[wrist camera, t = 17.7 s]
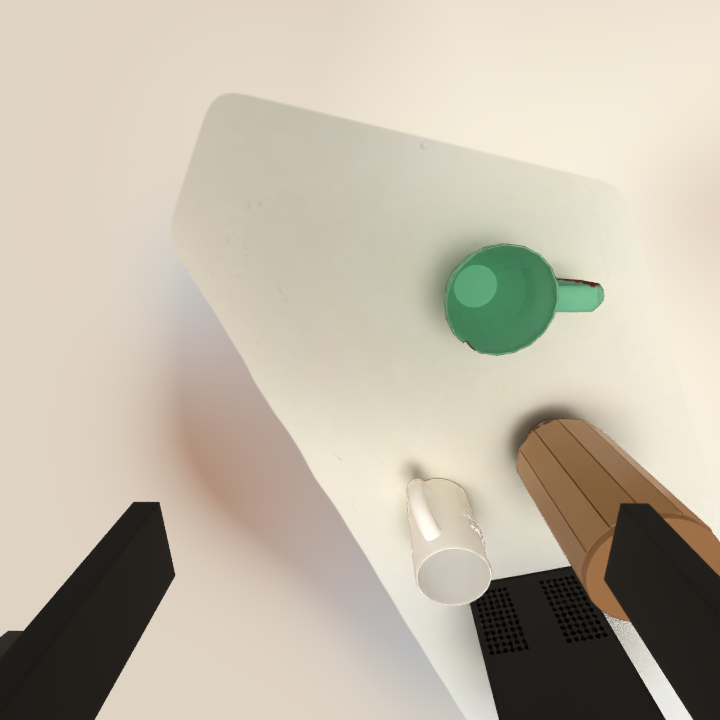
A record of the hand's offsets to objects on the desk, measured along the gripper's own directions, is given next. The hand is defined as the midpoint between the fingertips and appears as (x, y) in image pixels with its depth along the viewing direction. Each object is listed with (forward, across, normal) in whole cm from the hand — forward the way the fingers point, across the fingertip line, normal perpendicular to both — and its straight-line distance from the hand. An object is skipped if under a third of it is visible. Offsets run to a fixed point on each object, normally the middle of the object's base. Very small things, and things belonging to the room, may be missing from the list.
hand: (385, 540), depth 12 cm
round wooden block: (+31, +21, -17) cm, 42 cm away
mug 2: (+36, +13, +2) cm, 39 cm away
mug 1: (+36, +7, -25) cm, 44 cm away
